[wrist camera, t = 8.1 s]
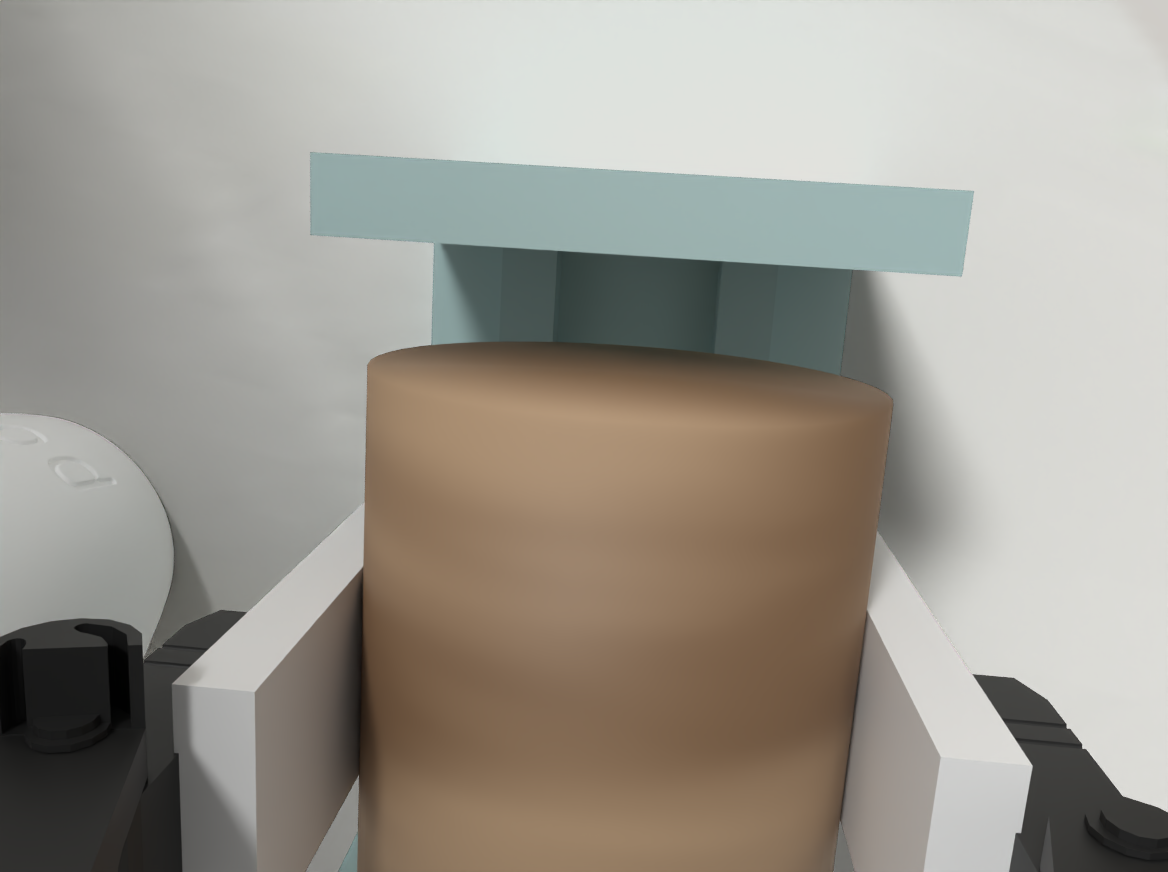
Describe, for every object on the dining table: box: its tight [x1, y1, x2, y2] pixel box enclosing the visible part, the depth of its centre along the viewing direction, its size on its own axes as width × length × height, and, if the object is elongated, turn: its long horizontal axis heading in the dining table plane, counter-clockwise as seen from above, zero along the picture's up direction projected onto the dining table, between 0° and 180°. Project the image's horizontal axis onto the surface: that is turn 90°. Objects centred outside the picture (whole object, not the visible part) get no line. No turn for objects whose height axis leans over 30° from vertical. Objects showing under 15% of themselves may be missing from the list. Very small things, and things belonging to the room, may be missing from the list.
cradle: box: [310, 152, 974, 872], centre depth 17 cm, size 12×8×8 cm, turn 177°
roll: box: [357, 342, 893, 872], centre depth 13 cm, size 8×6×6 cm
